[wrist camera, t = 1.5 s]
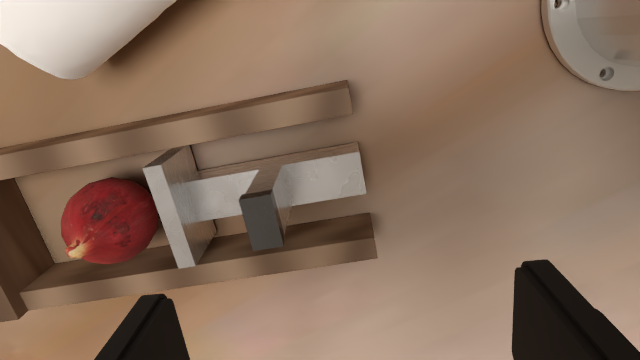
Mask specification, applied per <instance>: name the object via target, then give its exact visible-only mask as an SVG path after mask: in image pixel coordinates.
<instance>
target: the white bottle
mask: <svg viewBox="0 0 640 360" xmlns="http://www.w3.org/2000/svg"><path fill="white" fill-rule="evenodd" d="M176 1H177V0H0V44H1V45H3V46H5V47H6V48H8V49H9V50H10V51H11V52H13V53H14V54H15V55H16V56H17V57H19V58H21V59H23V60H25V61H27V62H28V63H30V64H32V65H34V66H36V67H37V68H39V69H41V70H43V71H46V72H48V73H50V74H52V75H54V76H56V77H59V78H64V79H73V80H75V79H79V78H83V77H86V76H88V75H89V74H91V73H92V72H94V71H95V70H96V69H97V68H99V67H100V66H101V65H102V64H103V63H104V62H106V61H107V60H108V59H109V58H110V57H112V56H113V55H114V54H115V53H116V52H118V51H119V50H120V49H121V48H122V47H123V46H125V45H126V44H127V43H128V42H129V41H131V40H132V39H133V38H134V37H135V36H136V35H137V34H139V33H140V32H141V31H142V30H143V29H144V28H145V27H147V26H148V25H149V24H150V23H152V22H153V21H154V20H155V19H156V18H158V17H159V15H160V14H161V13H162V12H163V11H164V10H165V9H166V8H168V7H169V6H171V5H172V4H173V3H174V2H176Z"/></svg>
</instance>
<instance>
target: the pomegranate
mask: <svg viewBox="0 0 640 360" xmlns="http://www.w3.org/2000/svg"><path fill="white" fill-rule="evenodd" d="M157 224H158V212H157V209H156V205H155V202H154V199H153V198H152V197H151V195H150V194H149V193H148V191H147V190H146V189H145V188H143V187H142V186H140V185H138V184H137V183H135V182H133V181H131V180H126V179H119V178H113V177H111V178H107V179H103V180H99V181H96V182H92V183H89V184H87V185H86V186H84V187H83V188H82V189H80V190H79V191H78V192H77V193H76V194H75V195H73V196H72V197H71V198H70V200H69V201H68V202H67V205H66V207H65V210H64V213H63V215H62V219H61V234H62V238H63V239H64V241H65V243H66V245H67V248H66V249H65V252H66V254H67V255H68V257H70V258H82V259H84V260H86V261H88V262H93V263H99V264H113V263H119V262H125V261H127V260H130V259H131V258H133V257H134V256H136V255H137V254H139V253H140V252H141V251H143V250H144V249H145V248H146V247H147V246H148V245H149V243H150V241H151V239H152V237H153V235H154V234H155V232H156V230H157Z"/></svg>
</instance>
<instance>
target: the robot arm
mask: <svg viewBox="0 0 640 360" xmlns="http://www.w3.org/2000/svg"><path fill="white" fill-rule="evenodd" d="M557 1H558V5H557V7H556V8H555V6H554V3H555V0H542V2H541V14H542V20H543V26H544V32H545V34H546V37H547V39H548V42H549V45H550V47H551V49H552V51H553V52H554V54H555V55H556V57H557V58H558V60H559V61H560V63H562V64H563V65H564V66H565V67H566V68H567V69H568V70H569V71H570V72H571V73H572V74H573V75H575V76H577V77H579V78H580V79H582V80H584V81H586V82H587V83H590V84H594V85H597V86H600V87H603V88H608V89H614V90H620V91H640V0H557ZM600 71H602V72H601V74H600ZM599 75H600V76H599ZM512 354H513V359H514V360H640V352H639V351H638V350H637V349H636V348H635V347H634V346H633V345H632V344H631V343H630V342H629V341H628V340H627V339H626V337H625V336H624V335H623V334H622V333H621V332H620V331H619V330H618V329H617V328H616V327H615V326H614V325H613V324H612V323H611V322H610V321H609V320H608V319H607V318H606V317H605V316H604V315H603V314H602V313H601V312H600V311H599V310H597V309H594V308H593V307H592V305H591V304H590V303H589V302H588V301H587V300H586V299H585V298H584V297H583V296H582V295H581V294H580V293H579V292H578V291H577V290H576V289H575V288H574V287H573V285H572V284H571V283H570V282H569V281H568V280H567V279H566V278H565V277H564V276H563V275H562V274H561V273H560V272H559V271H558V270H557V269H556V268H555V267H554V265H553V264H552V263H551V262H550V261H548V260H534V261H524V262H523V263H522V265H521V267H519V268H516V270H515V281H514V306H513V332H512ZM94 360H190V358H189V355H188V351H187V348H186V344H185V341H184V337H183V334H182V330H181V327H180V324H179V320H178V317H177V313H176V310H175V306H174V303H173V301H172V299H170V298H168V299H167V297H166V296H165V294H154V295H144V296H141V297H140V298H139V300H138V301H137V302H136V304H135V305H134V306H133V308H132V309H131V311H130V312H129V313H128V315H127V316H126V317H125V319H124V320H123V321H122V323H121V324H120V325H119V327H118V328H117V329H116V331H115V332H114V334H113V335H112V336H111V338H110V339H109V340H108V342H107V343H106V344H105V346H104V347H103V348H102V350H101V351H100V352H99V354H98V355H97V357H96V358H95V359H94Z"/></svg>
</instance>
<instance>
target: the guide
mask: <svg viewBox="0 0 640 360" xmlns="http://www.w3.org/2000/svg"><path fill="white" fill-rule="evenodd" d="M350 114H353V111H352V105H351V100H350V94H349V88H348V83H347V80H345V81H340V82H335V83H330V84H325V85H320V86H314V87H309V88H304V89H299V90H294V91H289V92H284V93H279V94H274V95H269V96H264V97H259V98H254V99H248V100H243V101H238V102H233V103H228V104H223V105H218V106H213V107H208V108H203V109H198V110H193V111H188V112H182V113H177V114H172V115H167V116H162V117H157V118H152V119H147V120H142V121H137V122H132V123H127V124H121V125H116V126H111V127H106V128H101V129H96V130H91V131H86V132H81V133H76V134H71V135H66V136H61V137H55V138H50V139H45V140H40V141H35V142H30V143H25V144H20V145H15V146H10V147H5V148H0V322H4V321H11V320H18V319H20V318H21V317H22V316H23V315H24V314H25V313H26V312H27V311H29V310H36V309H42V308H49V307H56V306H62V305H69V304H76V303H82V302H89V301H96V300H102V299H109V298H116V297H122V296H129V295H136V294H142V293H149V292H156V291H162V290H169V289H176V288H182V287H189V286H196V285H202V284H209V283H216V282H222V281H229V280H236V279H242V278H249V277H256V276H262V275H269V274H276V273H282V272H289V271H296V270H302V269H309V268H316V267H322V266H329V265H336V264H342V263H349V262H356V261H362V260H369V259H376V258H378V257H377V251H376V246H375V240H374V234H373V229H372V223H371V217H370V213H366V214H360V215H354V216H347V217H341V218H335V219H329V220H323V221H317V222H310V223H304V224H298V225H292V226H287V227H286V230H285V234H284V236H285V243H284V246H283V247H277V248H270V249H264V250H258V251H253V249H252V246H251V242H250V239H249V235H248V233H242V234H236V235H230V236H224V237H218V238H212V240H211V242H210V243H209V245H208V247H207V248H206V250H205V251H204V253H203V255H202V256H201V258H200V260H199V261H198V263H197V265H196V266H193V267H187V268H180V269H179V268H178V266H177V263H176V260H175V257H174V255H173V252H172V249H171V246H170V245H168V246H162V247H156V248H150V249H144V250H143V251H141V252H140V253H139V254H137V255H136V256H134V257H133V258H131V259H130V260H127V261H125V262H119V263H113V264H99V263H93V262H88V261H86V260H84V259H82V260H76V261H70V262H63V263H57V264H54V262H53V260H52V258H51V256H50V253H49V251H48V249H47V247H46V245H45V243H44V241H43V239H42V237H41V235H40V232H39V230H38V228H37V226H36V224H35V222H34V220H33V218H32V216H31V213H30V211H29V209H28V207H27V205H26V203H25V201H24V199H23V197H22V195H21V192H20V190H19V188H18V186H17V184H16V182H15V180H14V178H15V177H20V176H26V175H31V174H36V173H42V172H47V171H52V170H58V169H63V168H68V167H73V166H79V165H84V164H89V163H95V162H100V161H105V160H111V159H116V158H121V157H127V156H132V155H137V154H143V153H148V152H153V151H159V150H164V149H169V148H175V147H180V146H185V145H191V144H196V143H201V142H207V141H212V140H217V139H222V138H228V137H233V136H238V135H244V134H249V133H254V132H260V131H265V130H270V129H276V128H281V127H286V126H292V125H297V124H302V123H308V122H313V121H318V120H324V119H329V118H334V117H340V116H345V115H350Z"/></svg>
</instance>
